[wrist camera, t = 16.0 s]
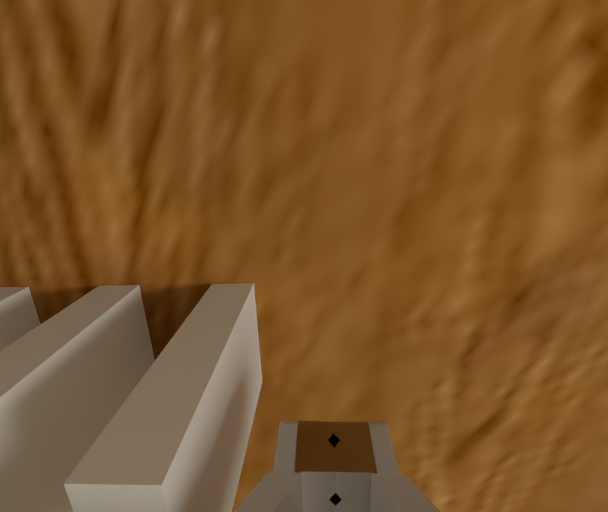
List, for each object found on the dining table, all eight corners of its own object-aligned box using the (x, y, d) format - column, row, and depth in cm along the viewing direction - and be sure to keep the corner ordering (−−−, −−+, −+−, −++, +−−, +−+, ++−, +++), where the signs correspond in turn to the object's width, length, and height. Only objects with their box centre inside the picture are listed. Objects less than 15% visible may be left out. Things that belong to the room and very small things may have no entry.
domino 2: (262, 380, 16) (198, 649, 8) (224, 380, 16) (121, 645, 8) (253, 283, 15) (161, 484, 6) (211, 283, 15) (64, 483, 6)
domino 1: (159, 380, 16) (-14, 640, 8) (122, 380, 17) (-87, 637, 8) (139, 285, 15) (-104, 481, 6) (98, 285, 15) (-194, 479, 6)
